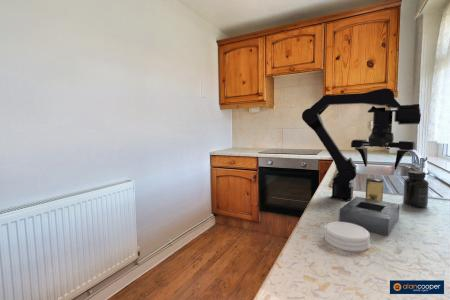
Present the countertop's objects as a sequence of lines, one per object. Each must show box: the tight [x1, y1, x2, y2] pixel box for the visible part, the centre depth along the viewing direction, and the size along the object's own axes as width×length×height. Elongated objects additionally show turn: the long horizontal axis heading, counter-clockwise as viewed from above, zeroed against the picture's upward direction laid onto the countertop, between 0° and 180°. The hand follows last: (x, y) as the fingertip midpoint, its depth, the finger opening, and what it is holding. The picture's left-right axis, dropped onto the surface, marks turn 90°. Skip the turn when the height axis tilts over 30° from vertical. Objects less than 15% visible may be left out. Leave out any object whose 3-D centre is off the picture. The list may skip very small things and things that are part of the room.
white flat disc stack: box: [324, 221, 371, 253], centre depth 59 cm, size 10×10×4 cm
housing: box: [338, 196, 401, 237], centre depth 71 cm, size 12×16×4 cm
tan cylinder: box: [365, 177, 384, 201], centre depth 82 cm, size 5×5×10 cm
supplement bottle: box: [402, 170, 430, 209], centre depth 83 cm, size 7×7×12 cm
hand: (380, 167), depth 86 cm, fingers open, 9 cm apart
